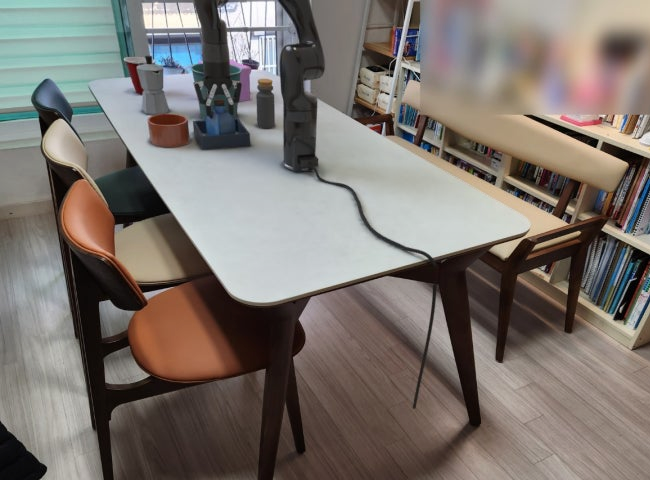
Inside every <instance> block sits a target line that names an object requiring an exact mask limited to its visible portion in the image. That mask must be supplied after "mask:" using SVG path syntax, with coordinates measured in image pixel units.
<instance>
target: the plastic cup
mask: <svg viewBox="0 0 650 480" xmlns="http://www.w3.org/2000/svg"><path fill="white" fill-rule="evenodd" d="M123 61H124V63H125V65H126V67H127V70H128V73H129V76H130V79H131V83H132V85H133V88H134V91H135V93H136V94H137V95H143V91H144V89H142V86H141V83H140V79H139V76H138V72H137V66H139V63H146V59H145V57H144V56H143V57H142V56H141V57H140V56H126V57H124V58H123ZM156 62H157V61H156V60H155V59H153V58H152V64H156Z"/></svg>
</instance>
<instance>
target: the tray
mask: <svg viewBox="0 0 650 480" xmlns="http://www.w3.org/2000/svg"><path fill="white" fill-rule="evenodd" d="M234 120H235V130H236V132H238V133H236V134H223V135H207V129H206V119H201V120H192V127H193V128H192V129H193V134H194V137H195V138H196V140H197V142H198V144H199V147H201V149H202V150H215V149H216V150H217V149H229V148H243V147H251V133H250V131H249V130H248V129H247V127H246V126H245V124H244V123H242V121H241V120H240V118H238V117H237V118H236V119H234ZM203 134H206V135H203Z"/></svg>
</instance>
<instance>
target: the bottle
mask: <svg viewBox="0 0 650 480" xmlns="http://www.w3.org/2000/svg"><path fill="white" fill-rule="evenodd" d="M257 83H258V85H257V86H256V89H257V90H258V92H256V94H255V95H256V97H255V98H256V99H255V100H256V123H257V125H256V126H257V128H259V129H266V130H267V129H273V128H275V126H276V114H275V112H276V111H275V108H276V107H275V106H276V105H275V103H276V102H275V94H274V93H273V91H274V85H273V80H272V79H270V78H258V79H257Z"/></svg>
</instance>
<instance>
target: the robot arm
mask: <svg viewBox="0 0 650 480" xmlns="http://www.w3.org/2000/svg"><path fill="white" fill-rule="evenodd" d="M229 1H230V0H193V5H194V8H195V12H196V15H197V19H198V21H199V24H200V35H201V58H202V61H203V71H204V79H203V81H201V82H196V81H193V83H192V85H193V88H194V91H195V94H196V97H197V101H198V100H199V101H198V103H199V102H200V103H201V104H204V105H205V109H206V114H207V116H209V118H212V112H211V105H210V104H211V101H212V99H213V96H214V95H219V94H220V95H225V96H226V98H227V100H228V103H227V107H228V112H229V114H231V116H232V115H233V114H234V111H233V104H234V103H236V102H237V103H238V104H239V102H240V101H239V100H240V93H241V87H242V84H241V83H240V81H232V79H231V76H230V59H231V58H230V48H229V43H228V42H229V41H228V26H227V23H226V21H225V20H224V19H222V18H221V17H220V12H219V9H220V8H223V7H225V6H226V5H227V3H229ZM276 1H277V3H278V4H279V5H280V7H281V8H282V9H283V11H284V12H285V13H286V14H287V16H288V18H289V20H290V21H291V23H292V25H293V27H294V29H295V32H296V36H297V39H298V40H297V41H298V43H297V42H294V43H287V44H285V45H283V47H282V48H281V50H280V53H279V60H278V61H279V63H278V64H279V80H280V94H281V97H282V104H283V109H282V110H283V111H282V114H283V115H282V118H283V119H282V120H283V121H282V124H283V125H282V131H283V133H282V134H283V135H282V137H283V138H282V140H283V141H282V142H283V143H282V144H283V150H282V151H283V152H282V153H283V161H282V165H283V167H284V168H285V169H287V170H290V171H293V172H294V173H299V172H311V171H313V172H314V174H315V176H316V178H317V180H319V181H320V182H322V183H325V184H329V185H333V186H338V187H342V188H345V189H347V190H349V192H351V193H352V195H353V197H354V200H355V202H356V205H357V207H358V212H359V215H360V217H361V219H362V221H363V223H364V225H365V226H366V227H367V229H368V230H369V231H370V232H371V233H372V234H373V235H375V236H376V237H378V239H381V240H382V241H385V242H386V243H388V244H391V245H393V246H395V247H397V248H400V249H402V250H405V251H407V252H411V253H415V254H419V255H422V256H424V257H425V258H427V259H428V260H429V261H430V263H431V264H432V266H434V267H437V263H436V260H435V259H434V258H433V257H432V256H431V255H430V254H429V253H427V252H426V251H424V250H420V249H418V248H414V247H413V248H412V247H408V246H405V245H403V244H402V243H399V242H397V241H394V240H393V239H390V238H389V237H386V236H384V235H382V234H381V233H380V232H379V231H377V230H375V228H373V227H372V226H371V225H370V223H369V221H368V220H367V218H366V216H365V214H364V212H363V208H362V207H363V206H362V204H361V201H360V199H359V197H358V195H357V193H356V191H355V190H354V189H353V188H352V187H351V186H349V185H348V184H346V183H341V182H334V181H329V180H326V179H324V178H323V177H321V176H320V174H319V171H318V170H317V168H316V167H319V157H318V156H317V129H318V128H317V123H318V97H317V95H315V94H314V93H312V92H309V91H305V83H304V82H305V81H312V80H313V81H314V80H318V79H320V78H322V77H323V76H324V73H325V72H326V71H325V70H326V57H325V52H324V49H323V45H322V41H321V38H320V34H319V31H318V28H317V24H316V19H315V16H314V12H313V9H312V4H311V0H276ZM232 84H233V87H234V88H235V92H234V98H231V96H230V94H229V91H228V90H229V89H230V87H231V85H232ZM203 85H204V86H205V87H206V88H207V89H208V91H207V94H206V98H205V99H203V97H202V93H201V90H202V86H203ZM437 284H438V283H435V284H432V299H431V308H430V315H429V316H430V317H429V322H428V329H427V334H426V339H425V340H426V341H425V345H424V349H423V355H422V359H421V364H420V368H419V374H418V378H417V381H416V382H417V383H416V387H415V392H414V398H413V402H412V409H413V410H415V409H416V408H417V403H418V398H419V392H420V387H421V382H422V378H423V374H424V369H425V365H426V360H427V355H428V351H429V345H430V341H431V337H432V332H433V331H432V330H433V324H434V319H435V318H434V317H435V311H436V302H437V301H436V300H437V288H438V287H437V286H438V285H437Z"/></svg>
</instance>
